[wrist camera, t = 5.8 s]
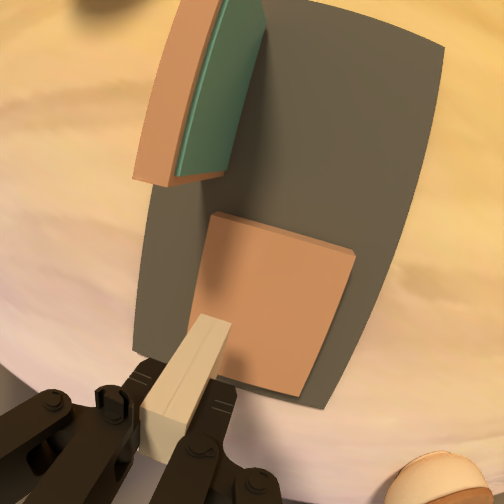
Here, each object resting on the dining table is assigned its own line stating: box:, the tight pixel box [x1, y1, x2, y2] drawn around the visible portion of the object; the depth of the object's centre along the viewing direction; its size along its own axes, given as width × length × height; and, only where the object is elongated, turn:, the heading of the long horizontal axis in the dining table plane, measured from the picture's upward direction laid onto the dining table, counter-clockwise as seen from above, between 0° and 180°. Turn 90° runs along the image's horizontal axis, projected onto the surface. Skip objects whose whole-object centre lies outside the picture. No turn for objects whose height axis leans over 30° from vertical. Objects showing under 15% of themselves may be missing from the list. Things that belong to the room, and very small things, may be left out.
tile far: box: [187, 211, 356, 397], centre depth 19 cm, size 2×10×8 cm
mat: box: [132, 0, 445, 409], centre depth 18 cm, size 15×26×1 cm, turn 166°
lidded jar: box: [384, 451, 494, 504], centre depth 19 cm, size 11×11×9 cm
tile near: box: [132, 0, 267, 187], centre depth 13 cm, size 2×10×8 cm, turn 165°
